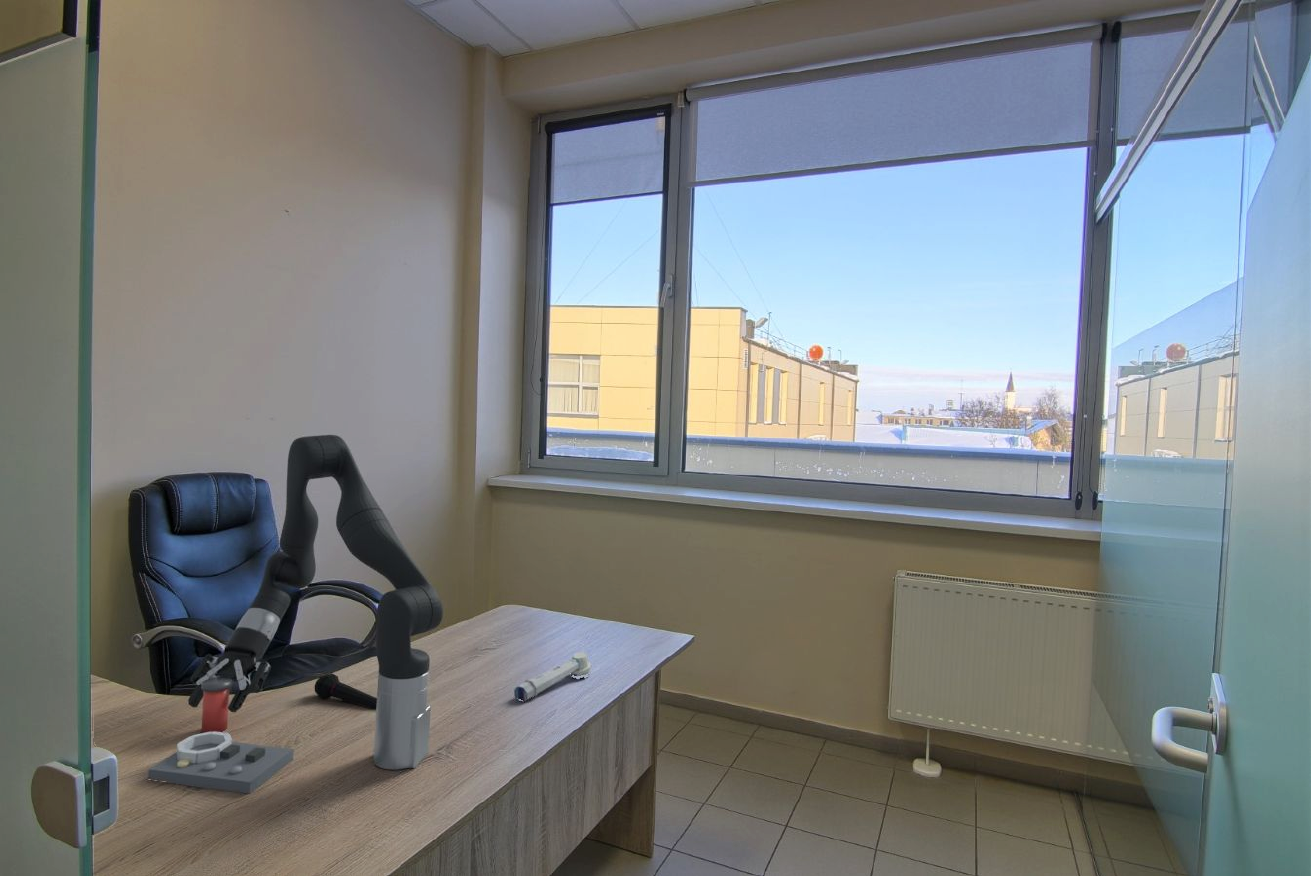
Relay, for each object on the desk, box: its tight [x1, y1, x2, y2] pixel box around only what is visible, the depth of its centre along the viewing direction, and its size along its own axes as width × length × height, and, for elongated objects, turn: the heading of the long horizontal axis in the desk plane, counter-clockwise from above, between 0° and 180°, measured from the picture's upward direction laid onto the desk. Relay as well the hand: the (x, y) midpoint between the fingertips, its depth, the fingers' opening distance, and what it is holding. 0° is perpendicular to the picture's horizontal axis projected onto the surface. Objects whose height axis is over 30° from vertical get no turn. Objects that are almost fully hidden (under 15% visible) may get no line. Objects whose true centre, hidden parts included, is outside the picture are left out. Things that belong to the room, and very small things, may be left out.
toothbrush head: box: [513, 651, 592, 702], centre depth 174 cm, size 5×7×25 cm
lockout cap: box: [200, 677, 233, 733], centre depth 139 cm, size 5×5×10 cm
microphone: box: [314, 673, 377, 710], centre depth 156 cm, size 6×6×20 cm
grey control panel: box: [147, 731, 294, 794], centre depth 125 cm, size 19×12×4 cm, turn 84°
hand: (211, 708), depth 138 cm, fingers open, 8 cm apart
